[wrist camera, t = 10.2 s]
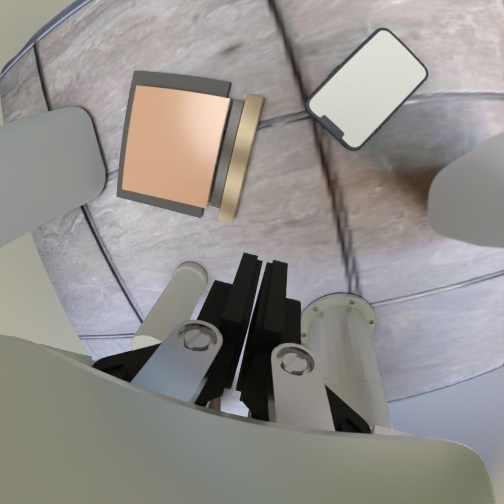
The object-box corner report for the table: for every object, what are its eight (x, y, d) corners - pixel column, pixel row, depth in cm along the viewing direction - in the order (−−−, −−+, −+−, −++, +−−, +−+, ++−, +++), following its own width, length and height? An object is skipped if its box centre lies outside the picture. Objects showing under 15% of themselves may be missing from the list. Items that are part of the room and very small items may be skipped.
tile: (230, 98, 31) (136, 85, 30) (206, 208, 37) (121, 189, 37) (231, 99, 32) (140, 85, 31) (208, 205, 38) (125, 186, 38)
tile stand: (235, 216, 40) (232, 222, 38) (210, 210, 40) (206, 216, 38) (264, 98, 32) (263, 97, 30) (237, 92, 32) (234, 91, 30)
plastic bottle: (90, 96, 34) (-84, 130, 9) (116, 191, 40) (-33, 297, 15) (29, 134, 37) (-106, 187, 12) (53, 213, 43) (-66, 302, 18)
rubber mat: (202, 215, 40) (200, 218, 39) (119, 194, 40) (116, 196, 39) (231, 83, 32) (229, 82, 31) (137, 71, 32) (134, 70, 31)
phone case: (379, 26, 26) (299, 106, 33) (382, 22, 25) (299, 105, 31) (427, 75, 28) (352, 154, 34) (433, 74, 27) (355, 156, 33)
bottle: (206, 293, 46) (149, 433, 24) (175, 285, 46) (103, 415, 24) (210, 265, 44) (144, 408, 21) (177, 257, 44) (92, 388, 22)
